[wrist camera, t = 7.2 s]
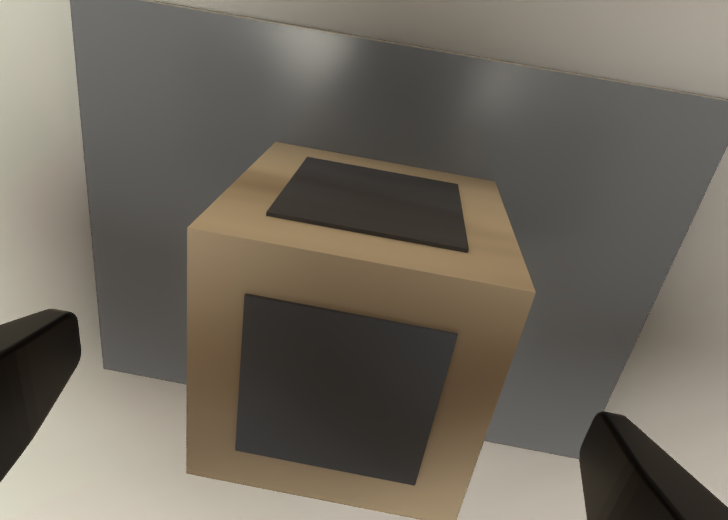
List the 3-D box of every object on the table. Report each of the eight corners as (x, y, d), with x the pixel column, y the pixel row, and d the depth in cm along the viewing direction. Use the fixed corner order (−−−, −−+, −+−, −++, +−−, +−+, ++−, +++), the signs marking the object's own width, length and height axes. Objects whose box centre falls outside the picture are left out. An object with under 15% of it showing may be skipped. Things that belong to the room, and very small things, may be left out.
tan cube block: (445, 359, 14) (454, 529, 10) (261, 324, 14) (184, 476, 10) (496, 178, 12) (538, 291, 7) (275, 138, 12) (185, 225, 8)
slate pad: (736, 100, 11) (746, 104, 11) (577, 448, 16) (580, 459, 15) (79, -12, 11) (68, -12, 11) (111, 360, 16) (103, 368, 16)
